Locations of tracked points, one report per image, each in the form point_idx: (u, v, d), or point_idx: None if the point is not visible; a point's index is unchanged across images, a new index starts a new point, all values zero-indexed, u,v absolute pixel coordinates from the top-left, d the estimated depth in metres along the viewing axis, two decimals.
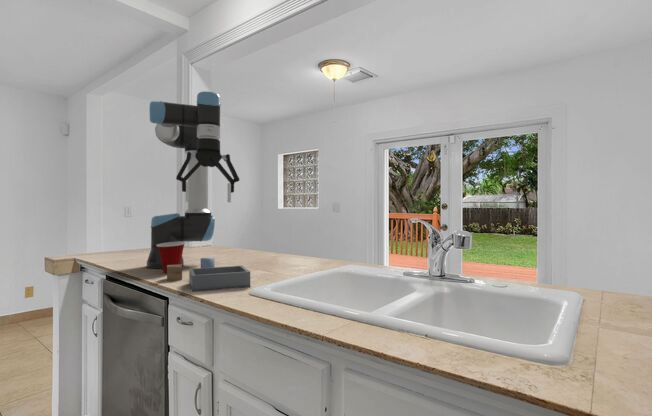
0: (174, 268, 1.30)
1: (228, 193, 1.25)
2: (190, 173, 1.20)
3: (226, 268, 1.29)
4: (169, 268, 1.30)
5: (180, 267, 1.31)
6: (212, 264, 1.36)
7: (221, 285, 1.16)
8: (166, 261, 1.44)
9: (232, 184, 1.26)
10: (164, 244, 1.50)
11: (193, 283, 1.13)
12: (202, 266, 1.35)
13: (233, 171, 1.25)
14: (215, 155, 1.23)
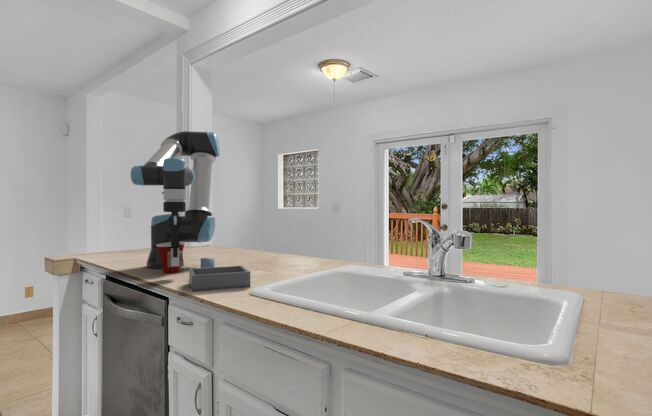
0: None
1: None
2: None
3: (226, 268, 1.29)
4: (170, 254, 1.30)
5: (181, 253, 1.32)
6: (212, 264, 1.36)
7: (221, 285, 1.16)
8: (166, 261, 1.44)
9: (173, 249, 1.29)
10: (164, 244, 1.50)
11: (193, 283, 1.13)
12: (202, 266, 1.35)
13: (171, 236, 1.28)
14: (171, 215, 1.30)
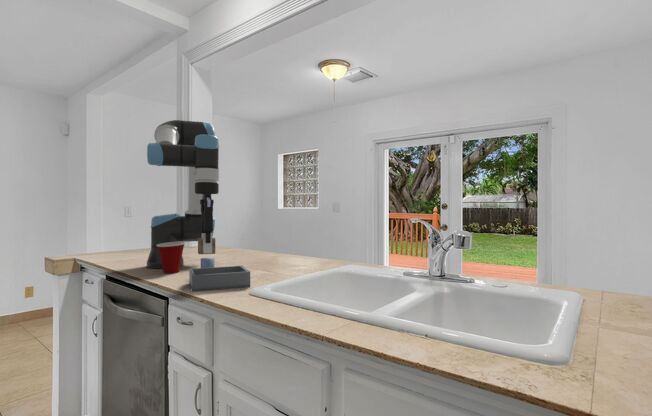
0: None
1: None
2: (202, 221, 1.23)
3: (226, 268, 1.29)
4: (201, 240, 1.18)
5: (213, 239, 1.20)
6: (212, 264, 1.36)
7: (221, 285, 1.16)
8: (166, 261, 1.44)
9: (205, 234, 1.17)
10: (164, 244, 1.50)
11: (193, 283, 1.13)
12: (202, 266, 1.35)
13: (204, 219, 1.16)
14: (203, 197, 1.18)
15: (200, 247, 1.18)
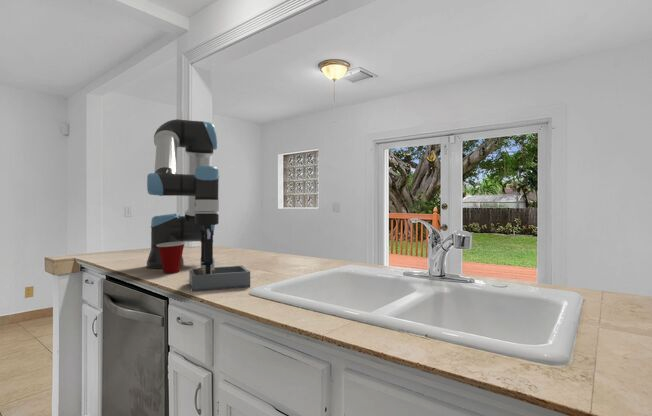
0: None
1: None
2: (202, 252, 1.23)
3: (226, 268, 1.29)
4: (201, 271, 1.18)
5: (213, 270, 1.19)
6: (212, 264, 1.36)
7: (221, 285, 1.16)
8: (166, 261, 1.44)
9: (205, 266, 1.17)
10: (164, 244, 1.50)
11: (193, 283, 1.13)
12: None
13: (204, 251, 1.16)
14: (203, 228, 1.18)
15: None
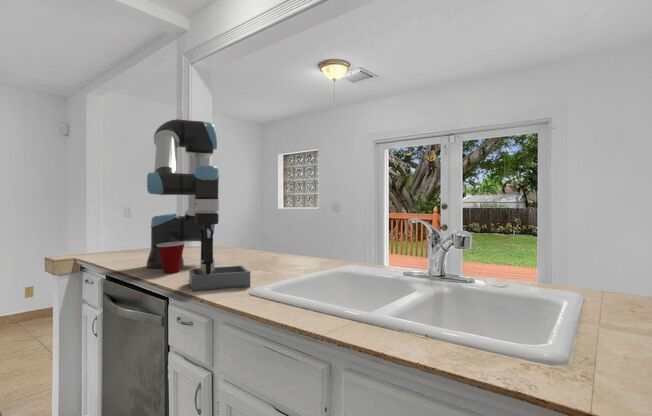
0: None
1: None
2: (201, 250, 1.24)
3: (226, 268, 1.29)
4: (201, 271, 1.18)
5: (213, 270, 1.19)
6: (212, 264, 1.36)
7: (221, 285, 1.16)
8: (166, 261, 1.44)
9: (206, 265, 1.17)
10: (164, 244, 1.50)
11: (193, 283, 1.13)
12: None
13: (204, 251, 1.15)
14: (203, 228, 1.19)
15: None
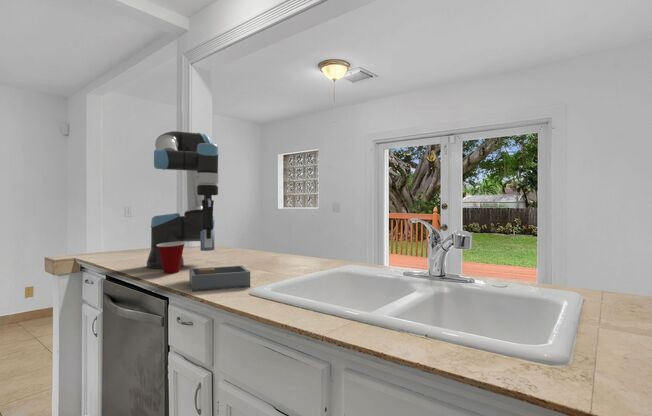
0: (207, 271, 1.19)
1: None
2: (203, 219, 1.40)
3: (226, 268, 1.29)
4: (201, 271, 1.18)
5: (213, 270, 1.19)
6: (212, 237, 1.37)
7: (221, 285, 1.16)
8: (166, 261, 1.44)
9: (206, 231, 1.34)
10: (164, 244, 1.50)
11: (193, 283, 1.13)
12: (202, 239, 1.35)
13: (205, 218, 1.32)
14: (205, 198, 1.35)
15: None
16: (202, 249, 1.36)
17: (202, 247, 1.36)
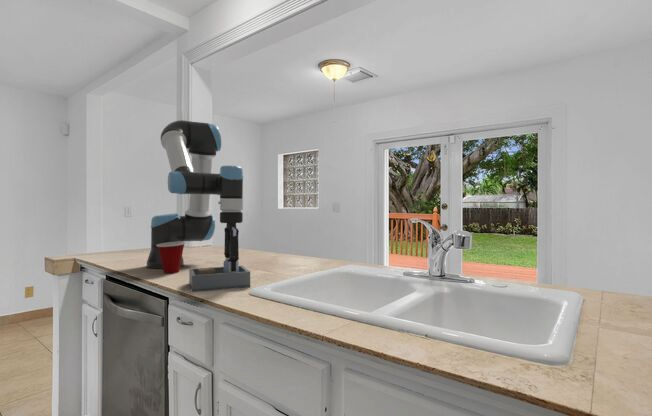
0: (207, 271, 1.19)
1: None
2: (225, 248, 1.27)
3: None
4: (201, 271, 1.18)
5: (213, 270, 1.19)
6: None
7: (221, 285, 1.16)
8: (166, 261, 1.44)
9: (231, 262, 1.20)
10: (164, 244, 1.50)
11: (193, 283, 1.13)
12: (225, 270, 1.22)
13: (230, 248, 1.18)
14: (229, 227, 1.22)
15: None
16: None
17: None
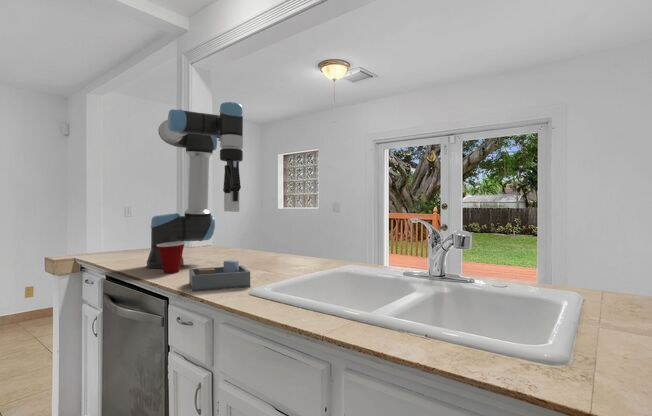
0: (207, 271, 1.19)
1: None
2: (225, 185, 1.29)
3: None
4: (201, 271, 1.18)
5: (213, 270, 1.19)
6: (236, 268, 1.23)
7: (221, 285, 1.16)
8: (166, 261, 1.44)
9: (233, 192, 1.17)
10: (164, 244, 1.50)
11: (193, 283, 1.13)
12: (225, 270, 1.22)
13: (231, 178, 1.16)
14: (229, 164, 1.22)
15: None
16: None
17: None
